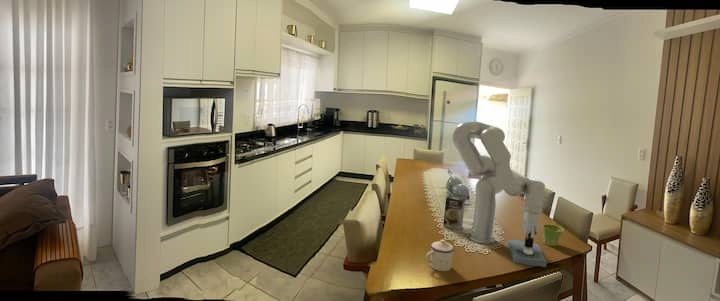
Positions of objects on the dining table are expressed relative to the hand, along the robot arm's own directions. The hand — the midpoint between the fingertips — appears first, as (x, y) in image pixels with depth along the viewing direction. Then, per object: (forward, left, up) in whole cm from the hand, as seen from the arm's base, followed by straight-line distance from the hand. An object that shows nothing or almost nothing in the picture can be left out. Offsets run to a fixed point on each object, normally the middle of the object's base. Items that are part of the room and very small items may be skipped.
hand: (528, 246), depth 174 cm
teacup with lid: (-40, -27, -4) cm, 48 cm away
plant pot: (+13, +17, -4) cm, 22 cm away
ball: (-1, -5, -1) cm, 5 cm away
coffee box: (-34, +23, -4) cm, 41 cm away
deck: (-1, -1, -4) cm, 4 cm away
